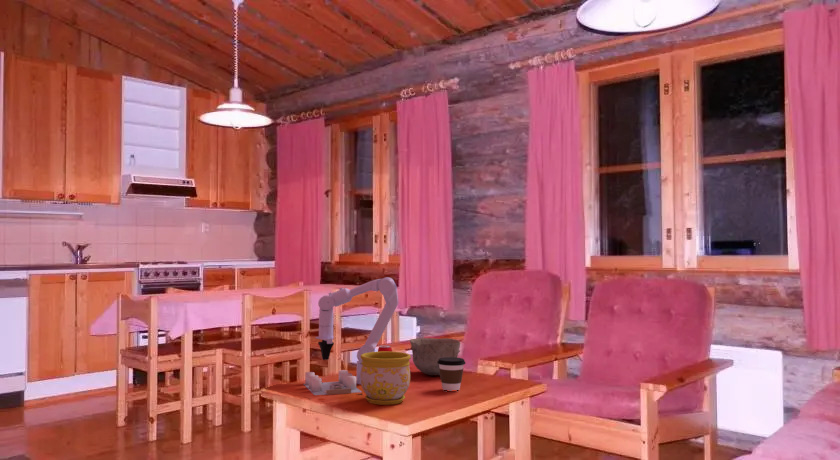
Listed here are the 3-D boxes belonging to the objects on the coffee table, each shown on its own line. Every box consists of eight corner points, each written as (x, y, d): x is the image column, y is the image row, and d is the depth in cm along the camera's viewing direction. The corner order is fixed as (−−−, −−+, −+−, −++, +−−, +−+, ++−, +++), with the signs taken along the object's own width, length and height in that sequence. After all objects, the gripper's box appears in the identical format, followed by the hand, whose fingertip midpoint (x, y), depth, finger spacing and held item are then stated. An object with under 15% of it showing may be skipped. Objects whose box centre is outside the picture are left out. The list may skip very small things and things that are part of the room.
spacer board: (347, 383, 267) (347, 369, 268) (362, 395, 246) (362, 380, 246) (302, 386, 261) (303, 372, 261) (314, 398, 240) (314, 383, 240)
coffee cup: (469, 389, 260) (469, 358, 260) (459, 394, 250) (459, 362, 250) (443, 386, 264) (443, 356, 265) (432, 391, 254) (432, 360, 255)
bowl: (407, 370, 299) (407, 337, 299) (455, 370, 301) (455, 337, 302) (412, 379, 277) (412, 343, 277) (463, 379, 279) (464, 343, 280)
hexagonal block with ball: (336, 389, 250) (336, 383, 250) (346, 391, 247) (346, 384, 247) (327, 391, 247) (327, 384, 247) (337, 393, 243) (337, 386, 243)
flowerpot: (416, 405, 231) (416, 358, 231) (365, 408, 226) (366, 359, 226) (402, 394, 248) (403, 350, 249) (355, 397, 243) (356, 352, 244)
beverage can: (389, 375, 287) (390, 347, 287) (375, 374, 288) (376, 346, 288) (393, 372, 293) (393, 345, 293) (379, 372, 294) (380, 344, 294)
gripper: (312, 323, 271) (311, 357, 270) (320, 327, 257) (319, 363, 257) (329, 323, 273) (328, 356, 273) (337, 327, 260) (337, 362, 259)
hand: (325, 359), depth 265 cm, fingers closed
